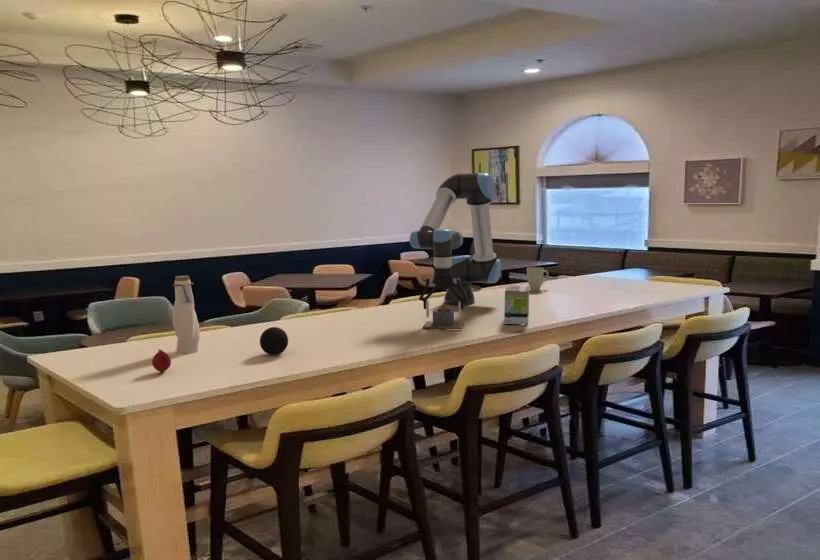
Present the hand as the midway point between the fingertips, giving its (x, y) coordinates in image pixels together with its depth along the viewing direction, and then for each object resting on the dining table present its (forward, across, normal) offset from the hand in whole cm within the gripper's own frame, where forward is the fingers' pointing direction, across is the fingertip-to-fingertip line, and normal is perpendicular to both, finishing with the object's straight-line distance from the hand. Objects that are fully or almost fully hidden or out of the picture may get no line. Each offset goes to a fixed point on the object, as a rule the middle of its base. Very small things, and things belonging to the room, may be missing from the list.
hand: (443, 317), depth 282 cm
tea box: (+5, +30, +13) cm, 33 cm away
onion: (+3, -84, -76) cm, 114 cm away
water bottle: (+3, -89, -49) cm, 102 cm away
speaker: (+3, -55, -50) cm, 75 cm away
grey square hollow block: (+3, 0, 0) cm, 3 cm away
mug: (+6, +39, +94) cm, 102 cm away
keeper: (+4, 0, 0) cm, 4 cm away
